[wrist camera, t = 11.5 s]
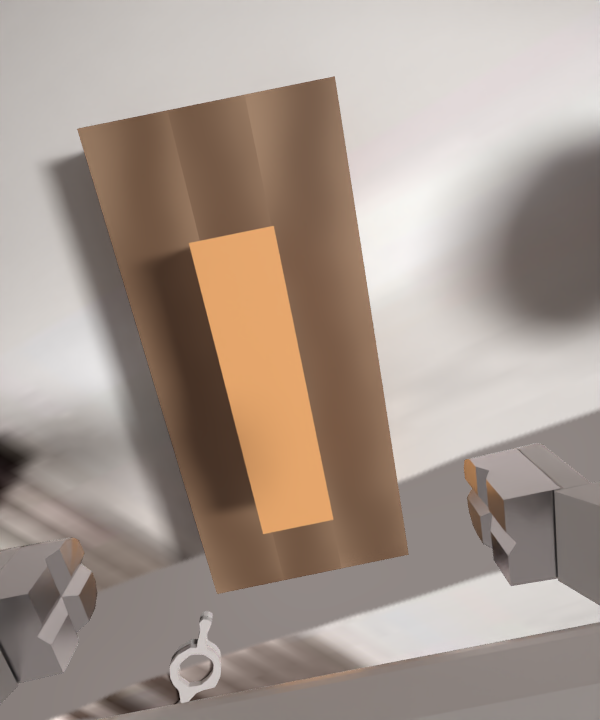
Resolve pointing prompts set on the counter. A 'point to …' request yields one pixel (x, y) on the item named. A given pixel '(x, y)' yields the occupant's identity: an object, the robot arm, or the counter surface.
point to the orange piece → (263, 376)
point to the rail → (307, 302)
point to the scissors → (192, 648)
